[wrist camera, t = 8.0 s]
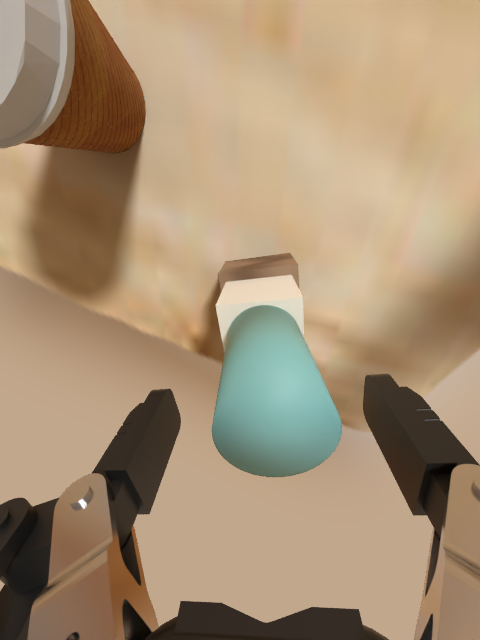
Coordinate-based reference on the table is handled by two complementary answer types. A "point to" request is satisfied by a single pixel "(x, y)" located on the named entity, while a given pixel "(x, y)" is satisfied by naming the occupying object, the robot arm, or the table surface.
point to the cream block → (258, 299)
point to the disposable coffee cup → (65, 79)
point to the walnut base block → (259, 268)
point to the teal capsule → (272, 398)
